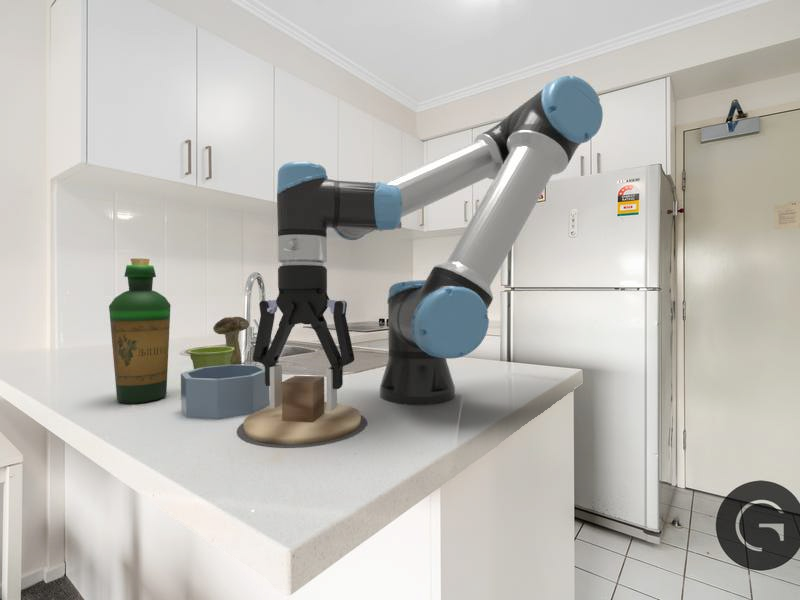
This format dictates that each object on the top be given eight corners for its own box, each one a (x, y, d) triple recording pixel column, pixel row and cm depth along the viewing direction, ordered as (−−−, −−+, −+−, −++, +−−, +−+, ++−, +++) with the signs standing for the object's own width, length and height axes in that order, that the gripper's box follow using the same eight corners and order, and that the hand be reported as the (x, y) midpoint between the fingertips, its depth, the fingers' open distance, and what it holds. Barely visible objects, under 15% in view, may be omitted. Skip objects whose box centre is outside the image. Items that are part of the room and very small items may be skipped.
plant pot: (218, 394, 90) (217, 353, 90) (178, 392, 92) (178, 351, 91) (243, 384, 99) (242, 347, 99) (206, 382, 101) (206, 346, 101)
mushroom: (248, 377, 107) (247, 317, 106) (210, 379, 104) (209, 318, 104) (250, 370, 116) (249, 315, 115) (215, 372, 113) (214, 315, 113)
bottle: (115, 409, 78) (112, 256, 78) (106, 398, 86) (104, 259, 86) (178, 399, 85) (176, 258, 85) (165, 390, 94) (163, 261, 93)
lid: (372, 411, 75) (372, 370, 75) (340, 449, 58) (339, 395, 57) (277, 406, 79) (277, 367, 78) (218, 440, 61) (218, 390, 61)
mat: (379, 412, 76) (379, 410, 76) (345, 456, 56) (345, 452, 56) (274, 407, 80) (274, 404, 80) (207, 446, 60) (207, 442, 60)
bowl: (279, 401, 84) (279, 365, 84) (240, 423, 70) (240, 381, 70) (214, 398, 86) (214, 363, 86) (164, 419, 73) (164, 378, 72)
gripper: (226, 264, 66) (228, 410, 66) (362, 262, 62) (362, 418, 62) (252, 266, 73) (253, 398, 74) (374, 265, 69) (375, 404, 70)
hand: (303, 407), depth 68 cm, fingers open, 9 cm apart
